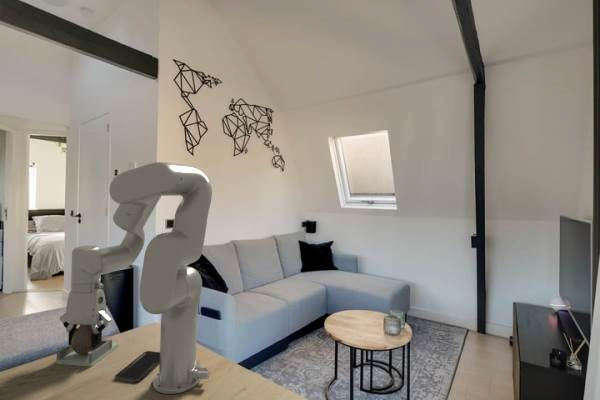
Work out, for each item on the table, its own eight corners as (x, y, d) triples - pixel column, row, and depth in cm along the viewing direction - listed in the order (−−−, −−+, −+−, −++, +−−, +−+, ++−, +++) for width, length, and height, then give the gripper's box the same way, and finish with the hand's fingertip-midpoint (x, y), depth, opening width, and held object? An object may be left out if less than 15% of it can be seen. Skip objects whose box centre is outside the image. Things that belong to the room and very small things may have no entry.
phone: (112, 377, 87) (146, 350, 102) (112, 381, 87) (146, 354, 102) (138, 381, 86) (169, 353, 101) (138, 385, 86) (168, 356, 101)
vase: (84, 358, 93) (85, 328, 93) (65, 354, 95) (65, 325, 94) (103, 347, 100) (104, 319, 100) (85, 344, 101) (85, 317, 101)
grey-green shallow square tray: (117, 346, 105) (118, 335, 105) (91, 366, 93) (92, 354, 93) (86, 344, 106) (86, 333, 106) (56, 363, 94) (56, 351, 94)
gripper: (121, 284, 100) (119, 340, 100) (69, 281, 101) (68, 336, 102) (104, 292, 93) (103, 352, 93) (49, 288, 94) (47, 347, 94)
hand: (85, 343), depth 97 cm, fingers closed on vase, 6 cm apart
